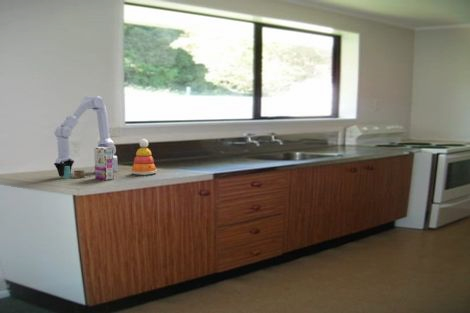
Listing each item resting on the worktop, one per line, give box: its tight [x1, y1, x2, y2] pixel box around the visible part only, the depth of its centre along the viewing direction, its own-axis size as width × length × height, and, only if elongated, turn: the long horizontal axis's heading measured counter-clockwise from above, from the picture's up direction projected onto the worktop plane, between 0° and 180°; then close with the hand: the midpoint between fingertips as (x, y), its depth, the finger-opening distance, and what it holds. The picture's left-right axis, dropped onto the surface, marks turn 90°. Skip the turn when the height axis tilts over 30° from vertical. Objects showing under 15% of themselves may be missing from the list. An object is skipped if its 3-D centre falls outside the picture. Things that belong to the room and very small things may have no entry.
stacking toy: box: [130, 138, 158, 176], centre depth 268 cm, size 14×14×20 cm
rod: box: [69, 172, 75, 179], centre depth 260 cm, size 6×2×2 cm, turn 96°
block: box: [61, 166, 71, 179], centre depth 258 cm, size 4×4×6 cm
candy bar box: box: [93, 146, 115, 181], centre depth 252 cm, size 11×5×16 cm, turn 45°
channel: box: [73, 169, 85, 179], centre depth 260 cm, size 5×7×3 cm
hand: (64, 175), depth 258 cm, fingers open, 7 cm apart
